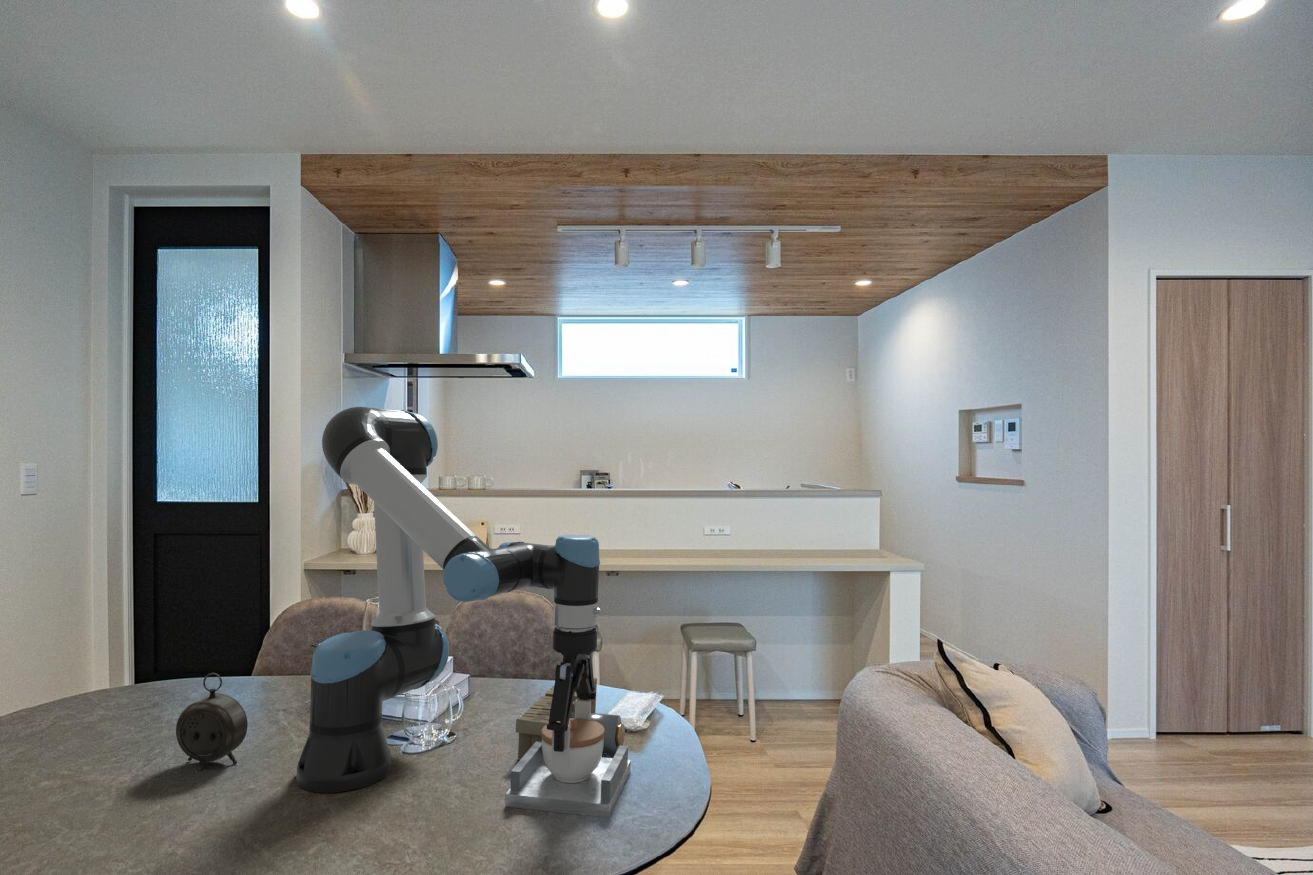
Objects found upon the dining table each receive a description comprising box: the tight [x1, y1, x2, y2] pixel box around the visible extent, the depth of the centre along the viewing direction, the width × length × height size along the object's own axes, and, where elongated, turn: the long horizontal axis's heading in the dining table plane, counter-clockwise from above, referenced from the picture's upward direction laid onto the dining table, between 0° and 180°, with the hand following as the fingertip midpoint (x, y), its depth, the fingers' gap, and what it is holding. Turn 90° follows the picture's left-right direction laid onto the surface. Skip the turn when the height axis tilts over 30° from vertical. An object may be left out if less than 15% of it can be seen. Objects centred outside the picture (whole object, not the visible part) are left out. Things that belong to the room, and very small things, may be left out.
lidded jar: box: [541, 718, 605, 783], centre depth 122 cm, size 11×11×9 cm
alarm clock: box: [175, 672, 249, 771], centre depth 128 cm, size 11×5×16 cm, turn 85°
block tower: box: [515, 677, 598, 760], centre depth 146 cm, size 8×8×29 cm
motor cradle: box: [504, 712, 632, 819], centre depth 127 cm, size 17×28×7 cm, turn 171°
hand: (571, 752), depth 122 cm, fingers open, 13 cm apart
